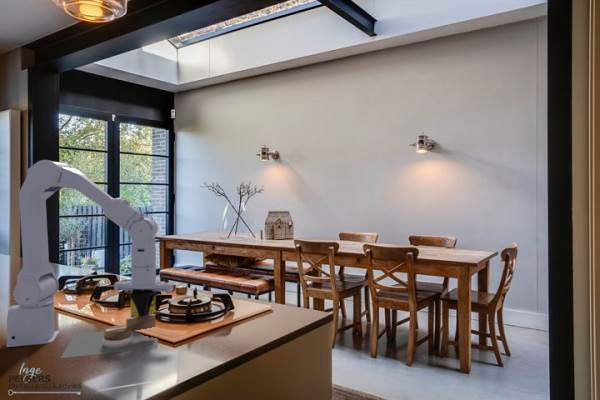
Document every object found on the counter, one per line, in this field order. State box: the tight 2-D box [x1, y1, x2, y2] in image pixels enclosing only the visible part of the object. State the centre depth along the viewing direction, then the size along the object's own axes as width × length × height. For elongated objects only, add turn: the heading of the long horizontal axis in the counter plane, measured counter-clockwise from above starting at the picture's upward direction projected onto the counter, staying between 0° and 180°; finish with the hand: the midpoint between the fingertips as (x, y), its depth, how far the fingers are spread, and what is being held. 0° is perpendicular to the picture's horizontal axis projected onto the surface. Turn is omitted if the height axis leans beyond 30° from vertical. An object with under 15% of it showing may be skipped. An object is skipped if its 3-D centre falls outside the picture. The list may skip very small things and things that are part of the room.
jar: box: [103, 335, 132, 348], centre depth 100 cm, size 6×6×2 cm
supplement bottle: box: [130, 290, 157, 318], centre depth 120 cm, size 7×7×13 cm
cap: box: [103, 313, 156, 341], centre depth 102 cm, size 12×6×4 cm, turn 124°
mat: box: [60, 330, 159, 359], centre depth 102 cm, size 20×16×1 cm
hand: (143, 319), depth 106 cm, fingers closed
